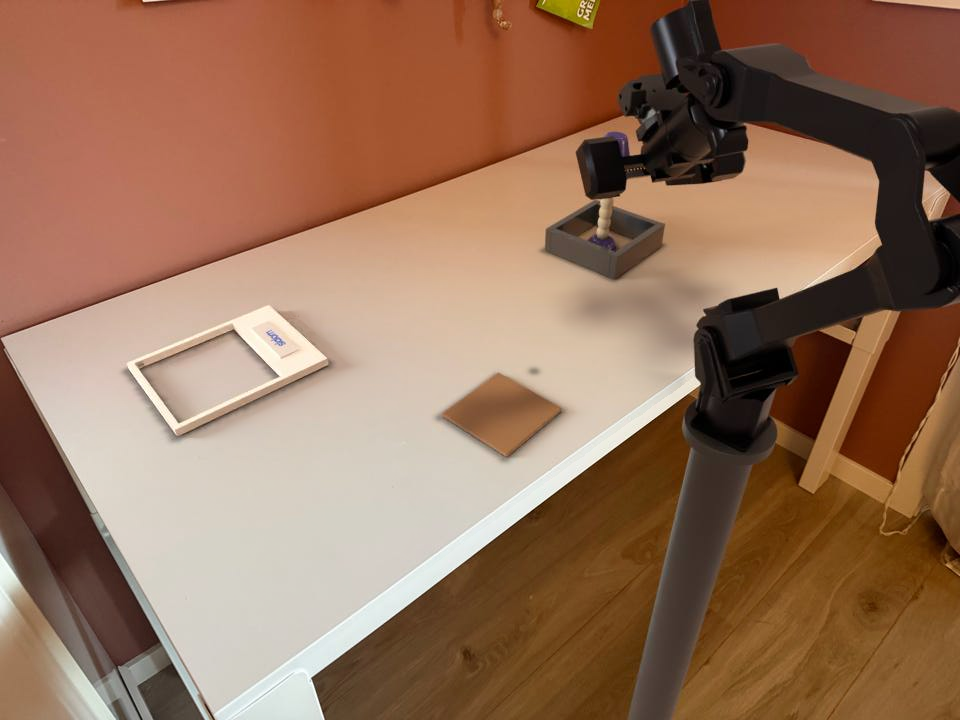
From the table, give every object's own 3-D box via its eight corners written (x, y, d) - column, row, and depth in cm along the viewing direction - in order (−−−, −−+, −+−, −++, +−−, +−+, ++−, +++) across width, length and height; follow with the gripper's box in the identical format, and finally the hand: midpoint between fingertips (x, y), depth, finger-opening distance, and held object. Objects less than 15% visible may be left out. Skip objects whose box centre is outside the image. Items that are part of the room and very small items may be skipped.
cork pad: (561, 411, 76) (561, 407, 76) (506, 457, 71) (506, 454, 71) (498, 375, 81) (498, 372, 81) (442, 416, 76) (442, 413, 76)
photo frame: (327, 357, 82) (174, 428, 74) (328, 364, 83) (177, 436, 74) (268, 303, 91) (125, 361, 82) (270, 310, 92) (129, 369, 83)
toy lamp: (602, 236, 106) (613, 125, 95) (626, 248, 103) (641, 135, 92) (580, 247, 103) (588, 134, 93) (603, 260, 100) (615, 144, 90)
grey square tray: (661, 245, 103) (665, 223, 101) (614, 279, 96) (617, 256, 94) (593, 220, 110) (595, 199, 108) (544, 250, 103) (545, 228, 101)
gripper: (754, 47, 75) (685, 115, 90) (589, 65, 71) (546, 133, 87) (780, 147, 74) (706, 199, 89) (614, 171, 70) (566, 221, 86)
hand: (632, 186), depth 88 cm, fingers open, 9 cm apart
